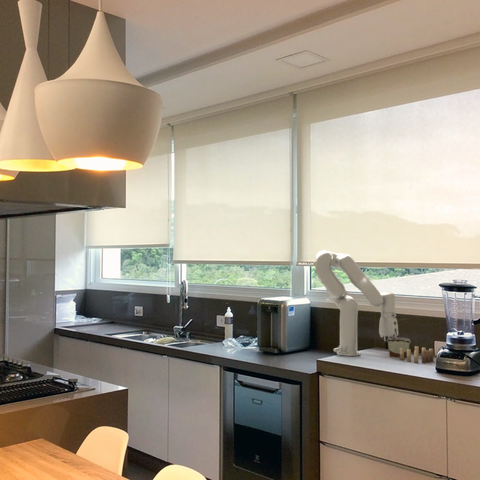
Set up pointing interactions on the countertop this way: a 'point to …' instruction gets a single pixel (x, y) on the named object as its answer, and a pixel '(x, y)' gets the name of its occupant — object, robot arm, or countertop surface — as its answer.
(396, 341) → the food container
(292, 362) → the countertop surface
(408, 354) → the peg bay
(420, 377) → the countertop surface
